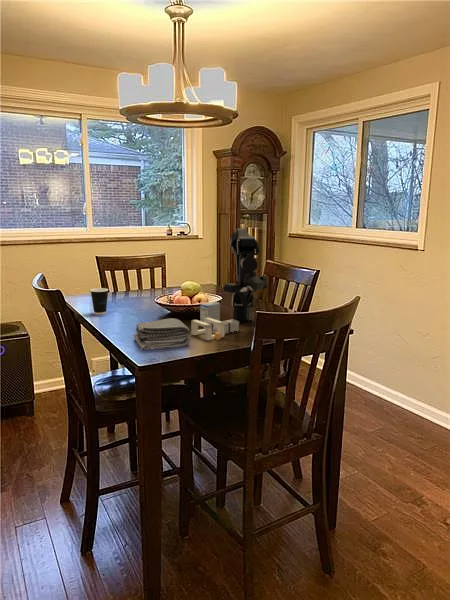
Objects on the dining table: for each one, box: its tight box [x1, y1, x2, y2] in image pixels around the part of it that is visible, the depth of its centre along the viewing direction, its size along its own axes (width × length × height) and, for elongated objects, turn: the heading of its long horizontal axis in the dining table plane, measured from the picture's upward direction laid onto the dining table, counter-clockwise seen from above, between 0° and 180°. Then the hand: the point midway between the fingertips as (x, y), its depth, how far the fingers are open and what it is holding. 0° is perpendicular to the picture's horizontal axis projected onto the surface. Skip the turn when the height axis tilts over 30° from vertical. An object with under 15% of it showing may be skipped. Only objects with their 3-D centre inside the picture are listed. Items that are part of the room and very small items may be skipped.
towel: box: [133, 317, 191, 350], centre depth 164 cm, size 15×18×8 cm
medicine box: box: [199, 301, 221, 326], centre depth 191 cm, size 8×4×9 cm, turn 141°
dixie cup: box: [89, 287, 109, 316], centre depth 205 cm, size 8×8×11 cm
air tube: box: [212, 318, 240, 335], centre depth 179 cm, size 10×4×4 cm, turn 129°
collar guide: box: [190, 317, 225, 341], centre depth 172 cm, size 8×12×6 cm
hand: (245, 307), depth 184 cm, fingers closed
